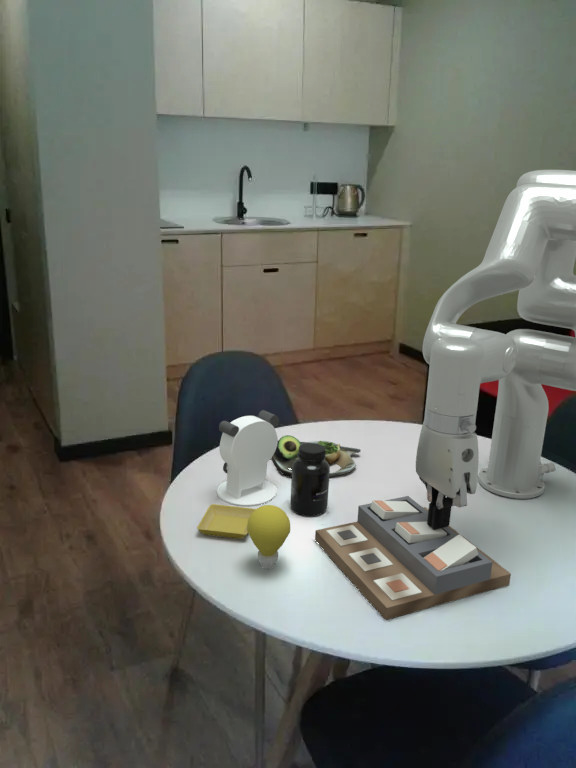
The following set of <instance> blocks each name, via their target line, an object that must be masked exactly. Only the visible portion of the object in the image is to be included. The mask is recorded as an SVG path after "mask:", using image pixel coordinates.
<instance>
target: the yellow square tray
mask: <svg viewBox="0 0 576 768" xmlns="http://www.w3.org/2000/svg"><path fill="white" fill-rule="evenodd" d="M256 509H257V508H251V507H245V506H236V505H223V504H216V503H212V504H210V505H209V506H208V507H207V509H206V511H205V513H204V515H203V517H202V518H201V520H200V521H199V523H198V525H197V527H196V529H197V530H198V532H200V533H201V534H203V535H205V536H212V537H218V538H219V537H220V538H227V539H237V540H242V539H243V540H244V539H245V537H246V536H247V535H248V532H247V524H248V519H249V517H250V515H251V514H252V513H253V511H255V510H256Z"/></svg>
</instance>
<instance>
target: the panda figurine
mask: <svg viewBox="0 0 576 768" xmlns="http://www.w3.org/2000/svg"><path fill="white" fill-rule="evenodd" d="M279 424H280V418H279V416H278V415H276V414H275V413H271V412H270V411H267V410H264V409H262V410H261V411H260V410H259V413H258V415H257V416H255V415H244V416H241V417H238V418H236V419H234V420H232V421H231V422H229V421H227V420H222V421H221V422H219V425H218V430H219V431H220V432H221V433H222V434H221V437H220V442H219V454H220V457H221V459H222V460H223V462H224V463H223V465H222V470H223V472H224V473H225V474H226V480H225V481H224V482H223V481H222V483H220V484H219V486H218V487H217V490H216V493H217V494H216V495H217V497H218V498H219V499H220V500H221V501H222V502H225V503H227V504H229V505H231V506H235V507H257V506H262V505H264V503H265V504H267V503H266V502H268V501H270V500H271V499H273V498H274V497H275V495H276V496H277V494H278V493H277V491H278V489H277V487H276V486H275V485H274V484H273V483H272V482H270V481H269V480H267V470H268V463H269V462H270V460H271V458H272V456H273V454H274V452H275V450H276V448H277V444H278V441H279V439H278V434H277V433H278V432H277V431H276V428H277V427H278V426H279ZM272 459H273V458H272ZM276 493H277V494H276ZM275 498H276V497H275ZM275 498H274V499H275ZM274 499H273V500H274ZM271 501H272V500H271ZM271 501H270V502H271ZM268 503H269V502H268ZM261 504H262V505H261Z"/></svg>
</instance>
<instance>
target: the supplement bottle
mask: <svg viewBox="0 0 576 768" xmlns="http://www.w3.org/2000/svg"><path fill="white" fill-rule="evenodd" d="M325 456H326V455H325V447H324V446H323V445H320V444H317V443H305V444H302V445H300V446H299V453H298V459H296V460H295V461H294V463H293V465H292V478H291V480H290V481H291V482H290V483H291V484H290V505H289V506H290V509H291V510H292V511H293V512H295V513H296V514H298V515H301V516H304V515H305V517H316V515H317V516H319V515H322V514H324V513H325V512H326V511H327V509H328V503H329V488H330V487H329V486H330V477H329V475H330V473H331V465H329V464H328V462H327V461H326V460H325Z"/></svg>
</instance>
